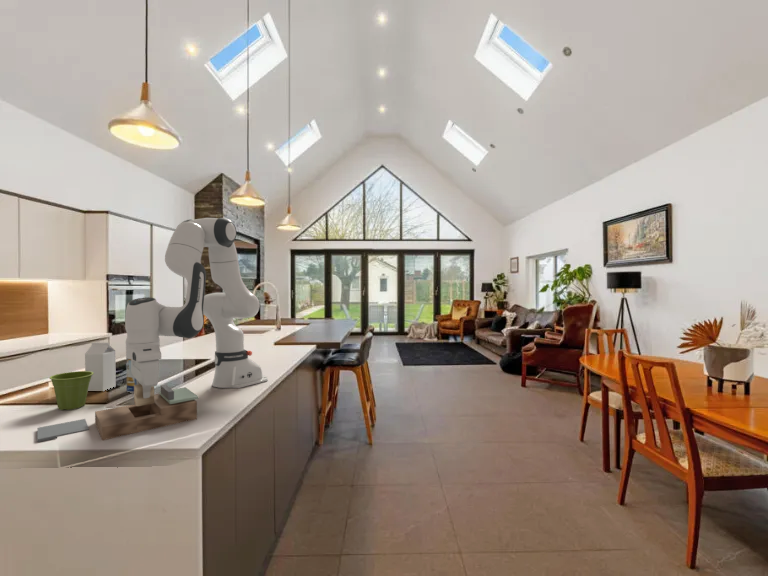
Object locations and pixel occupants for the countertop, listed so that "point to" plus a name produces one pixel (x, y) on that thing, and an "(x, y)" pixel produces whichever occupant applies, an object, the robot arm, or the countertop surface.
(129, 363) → the beverage bottle
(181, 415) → the puzzle board
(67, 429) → the rubber pad
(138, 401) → the maple block
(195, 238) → the robot arm
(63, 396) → the plant pot
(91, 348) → the milk carton
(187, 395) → the sliding lid
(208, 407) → the countertop surface
